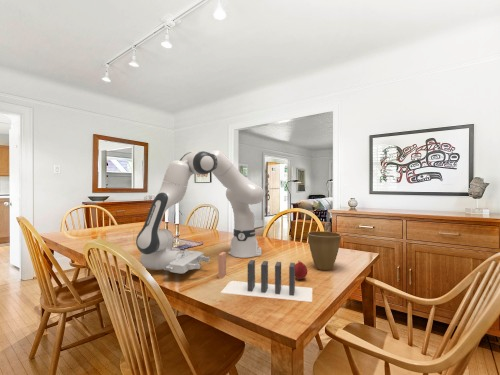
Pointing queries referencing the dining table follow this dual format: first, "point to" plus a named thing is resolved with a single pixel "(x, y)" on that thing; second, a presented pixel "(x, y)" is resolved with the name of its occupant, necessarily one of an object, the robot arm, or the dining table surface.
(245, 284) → the mat
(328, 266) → the plant pot
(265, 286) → the domino
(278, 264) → the domino
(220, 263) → the terracotta domino
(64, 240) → the dining table surface
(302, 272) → the onion
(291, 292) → the domino
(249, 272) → the domino
